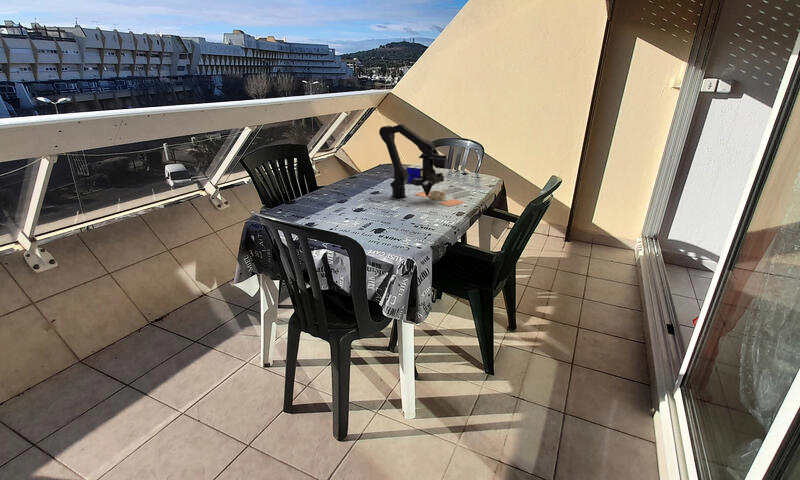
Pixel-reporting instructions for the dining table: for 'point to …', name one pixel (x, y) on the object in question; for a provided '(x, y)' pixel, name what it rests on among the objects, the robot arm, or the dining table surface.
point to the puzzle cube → (414, 172)
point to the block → (437, 195)
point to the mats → (446, 203)
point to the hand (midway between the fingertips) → (427, 195)
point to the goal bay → (457, 191)
